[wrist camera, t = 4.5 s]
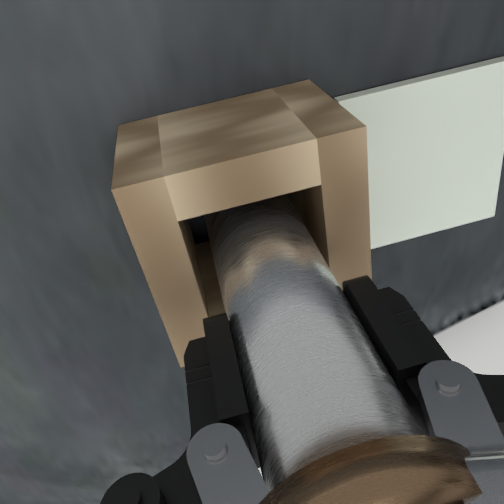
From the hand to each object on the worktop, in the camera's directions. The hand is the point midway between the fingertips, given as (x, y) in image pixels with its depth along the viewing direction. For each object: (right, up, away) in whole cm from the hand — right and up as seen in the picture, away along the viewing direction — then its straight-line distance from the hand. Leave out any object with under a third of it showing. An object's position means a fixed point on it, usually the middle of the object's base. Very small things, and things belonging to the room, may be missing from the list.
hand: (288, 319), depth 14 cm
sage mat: (+7, +6, +9) cm, 13 cm away
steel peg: (-2, +4, +7) cm, 8 cm away
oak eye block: (-2, +5, +7) cm, 9 cm away
